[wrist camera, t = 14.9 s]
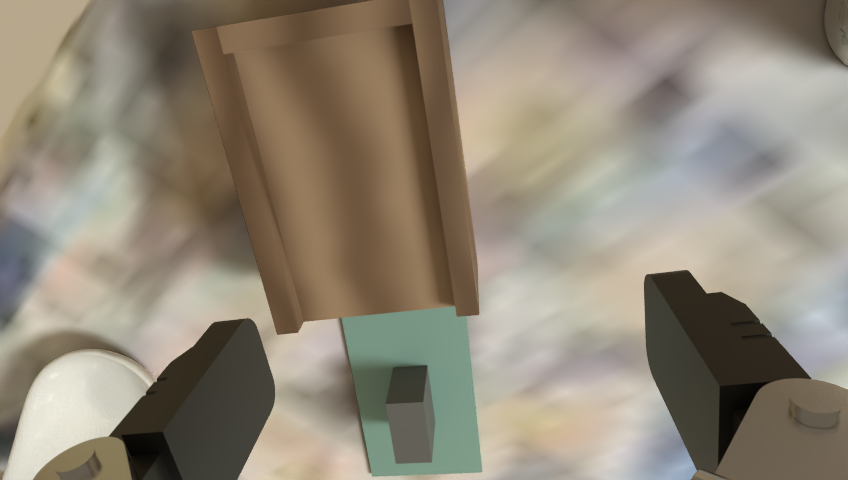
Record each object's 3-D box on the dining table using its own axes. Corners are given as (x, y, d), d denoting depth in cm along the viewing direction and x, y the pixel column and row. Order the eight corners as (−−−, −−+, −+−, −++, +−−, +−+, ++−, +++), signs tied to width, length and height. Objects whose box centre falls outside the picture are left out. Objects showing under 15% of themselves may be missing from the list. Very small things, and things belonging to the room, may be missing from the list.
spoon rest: (99, 307, 51) (43, 352, 44) (208, 387, 53) (171, 441, 47) (-17, 455, 58) (-79, 512, 52) (83, 518, 61) (36, 581, 54)
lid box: (441, -8, 39) (435, -11, 31) (477, 261, 46) (479, 314, 38) (244, 25, 41) (191, 31, 33) (308, 280, 48) (277, 334, 40)
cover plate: (464, 294, 48) (463, 332, 43) (481, 464, 55) (483, 516, 49) (342, 303, 49) (326, 341, 44) (373, 468, 56) (363, 519, 50)
